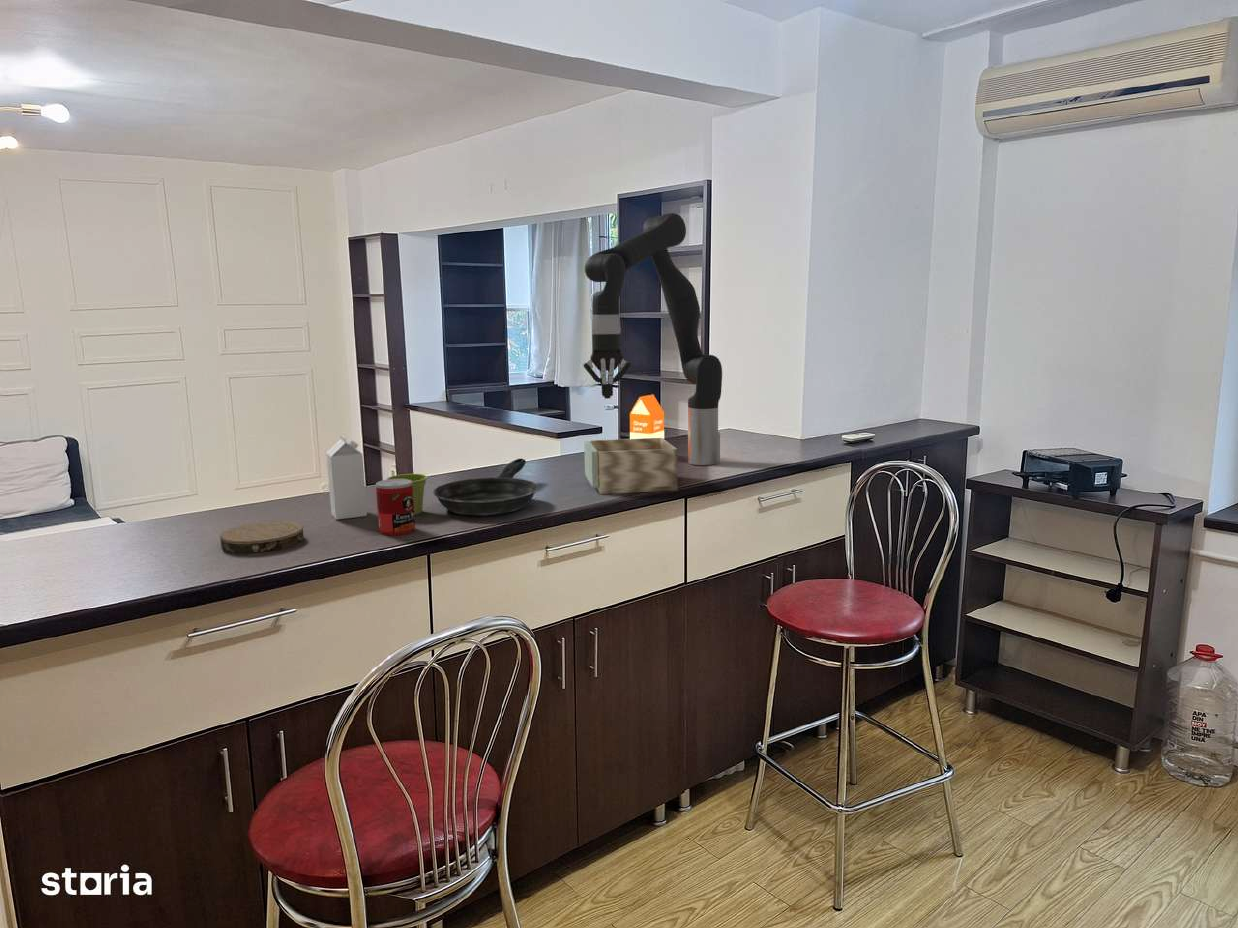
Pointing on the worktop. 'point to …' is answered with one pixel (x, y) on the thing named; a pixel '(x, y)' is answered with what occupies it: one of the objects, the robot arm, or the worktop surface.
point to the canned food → (395, 506)
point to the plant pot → (415, 488)
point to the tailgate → (591, 463)
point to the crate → (636, 465)
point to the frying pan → (488, 493)
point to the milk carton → (346, 480)
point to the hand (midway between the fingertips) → (607, 398)
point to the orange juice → (647, 419)
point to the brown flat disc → (261, 537)
